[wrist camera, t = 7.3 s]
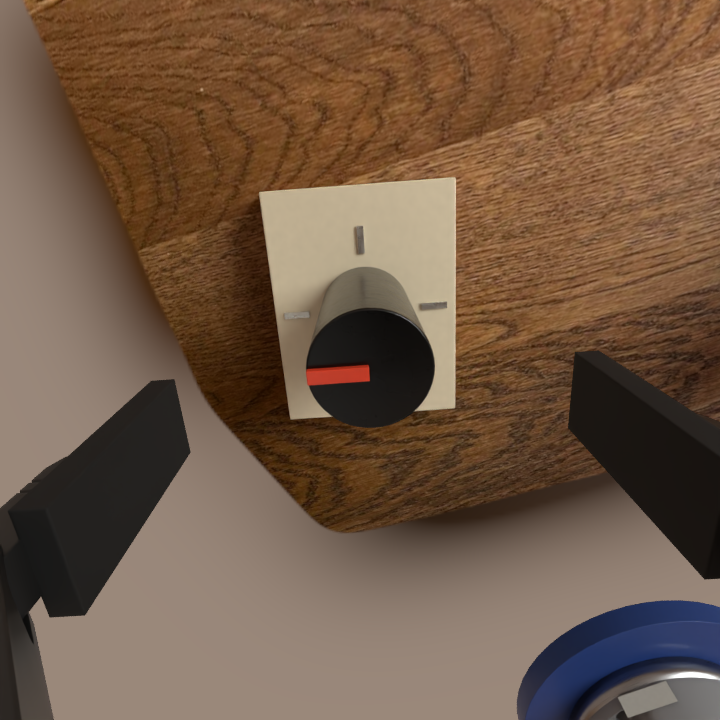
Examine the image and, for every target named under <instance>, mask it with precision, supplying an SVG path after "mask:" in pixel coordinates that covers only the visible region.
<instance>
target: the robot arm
mask: <svg viewBox="0 0 720 720" xmlns="http://www.w3.org/2000/svg"><path fill="white" fill-rule="evenodd" d="M568 428H569V429H570V431H571V432H572V433H573V434H574V435H575V436H576V437H577V438H578V439H579V441H580V442H581V443H582V444H583V445H584V446H585V447H586V448H587V449H588V451H589V452H590V453H591V454H592V455H593V456H594V457H595V458H596V459H597V461H598V462H599V463H600V464H601V465H602V466H603V467H604V468H605V469H606V471H607V472H608V473H609V474H610V475H611V476H612V477H613V478H614V479H615V480H616V482H617V483H618V484H619V485H620V486H621V487H622V488H623V489H624V490H625V492H626V493H627V494H628V495H629V496H630V497H631V498H632V499H633V500H634V502H635V503H636V504H637V505H638V506H639V507H640V508H641V509H642V510H643V512H644V513H645V514H646V515H647V516H648V517H649V518H650V519H651V520H652V521H653V523H655V525H656V526H657V527H658V528H659V529H660V530H661V531H662V533H663V534H664V535H665V536H666V537H667V538H668V539H669V540H670V542H672V544H673V545H674V546H675V547H676V548H677V549H678V550H679V551H680V553H681V554H682V555H683V556H684V557H685V558H686V559H687V560H688V561H689V563H691V565H692V566H693V567H694V568H695V569H696V570H697V571H698V573H699V574H700V575H701V576H702V577H703V578H704V579H719V578H720V422H719V421H716V420H714V419H711V418H709V417H706V416H703V415H701V414H696V413H694V412H693V411H691V410H690V409H688V408H687V407H685V406H684V405H682V404H680V403H679V402H677V401H676V400H674V399H673V398H671V397H670V396H668V395H667V394H665V393H663V392H662V391H660V390H659V389H657V388H656V387H654V386H653V385H651V384H650V383H648V382H646V381H645V380H643V379H642V378H640V377H639V376H637V375H636V374H634V373H633V372H631V371H630V370H628V369H626V368H625V367H623V366H622V365H620V364H619V363H617V362H616V361H614V360H613V359H611V358H609V357H608V356H606V355H605V354H603V353H602V352H600V351H586V352H575V358H574V369H573V380H572V391H571V401H570V412H569V423H568ZM189 454H190V448H189V443H188V439H187V434H186V430H185V425H184V421H183V416H182V412H181V407H180V404H179V398H178V394H177V390H176V385H175V381H174V379H172V380H159V381H158V380H157V381H151V382H150V383H148V384H147V385H146V386H145V387H144V388H143V389H142V390H141V391H140V392H138V393H137V394H136V395H135V396H134V397H133V398H132V399H131V400H130V401H129V402H128V403H126V404H125V405H124V406H123V407H122V408H121V409H120V410H119V411H118V412H116V413H115V414H114V415H113V416H112V417H111V418H110V419H109V420H108V421H106V422H105V423H104V424H103V425H102V426H101V427H100V428H99V429H98V430H96V431H95V432H94V433H93V434H92V435H91V436H90V437H89V438H88V439H87V440H85V441H84V442H83V443H82V444H81V445H80V446H79V447H78V448H77V449H76V450H75V451H73V452H72V453H71V454H70V455H69V456H68V457H65V458H63V459H61V460H59V461H58V462H56V463H54V464H52V465H51V466H49V467H47V468H46V469H44V470H43V471H42V472H41V473H40V474H39V475H38V476H36V477H35V478H34V479H33V480H32V483H28V484H27V485H26V486H25V487H24V488H23V489H22V490H20V493H17V494H16V495H15V496H14V497H13V498H11V499H10V500H9V501H8V502H7V503H6V504H5V505H3V506H2V507H1V508H0V720H54V719H53V714H52V709H51V704H50V700H49V695H48V690H47V685H46V680H45V675H44V671H43V666H42V661H41V656H40V651H39V647H38V642H37V637H36V632H35V627H34V624H33V621H32V619H31V616H30V614H29V611H30V610H31V608H32V607H33V606H34V604H35V603H36V602H37V601H38V599H39V598H40V597H42V599H43V602H44V604H45V607H46V609H47V612H48V614H49V617H64V616H81V615H85V614H86V613H87V611H88V610H89V608H90V607H91V605H92V604H93V602H94V600H95V599H96V597H97V596H98V594H99V593H100V591H101V590H102V588H103V587H104V585H105V583H106V582H107V580H108V579H109V577H110V576H111V574H112V573H113V571H114V570H115V568H116V566H117V565H118V563H119V562H120V560H121V559H122V557H123V556H124V554H125V553H126V551H127V549H128V548H129V546H130V545H131V543H132V542H133V540H134V539H135V537H136V536H137V534H138V532H139V531H140V529H141V528H142V526H143V525H144V523H145V522H146V520H147V519H148V517H149V516H150V514H151V512H152V511H153V509H154V508H155V506H156V505H157V503H158V502H159V500H160V499H161V497H162V495H163V494H164V492H165V491H166V489H167V488H168V486H169V485H170V483H171V482H172V480H173V478H174V477H175V475H176V474H177V472H178V471H179V469H180V468H181V466H182V465H183V463H184V462H185V460H186V458H187V457H188V455H189ZM569 720H720V665H718V664H716V663H713V662H711V661H707V660H703V659H699V658H692V657H663V658H656V659H650V660H646V661H641V662H638V663H635V664H632V665H629V666H626V667H624V668H621V669H619V670H617V671H615V672H613V673H611V674H609V675H607V676H606V677H604V678H602V679H601V680H599V681H598V682H597V683H595V684H594V685H593V686H592V687H591V688H589V689H588V690H587V691H586V692H585V693H584V694H583V695H582V697H581V698H580V699H579V700H578V702H577V703H576V705H575V706H574V708H573V710H572V712H571V715H570V718H569Z"/></svg>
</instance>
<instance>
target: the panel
mask: <svg viewBox="0 0 720 720" xmlns="http://www.w3.org/2000/svg"><path fill="white" fill-rule="evenodd" d="M259 198H260V206H261V213H262V220H263V227H264V234H265V241H266V249H267V256H268V263H269V270H270V277H271V285H272V292H273V299H274V306H275V313H276V320H277V328H278V335H279V342H280V349H281V356H282V364H283V371H284V378H285V385H286V392H287V399H288V407H289V414H290V419H305V418H320V417H333V416H331V415H330V414H328V413H327V412H326V411H325V410H324V409H323V408H322V407H321V406H320V405H319V404H318V402H317V401H316V400H315V398H314V397H313V395H312V393H311V391H310V388H309V386H308V385H307V378H306V360H307V355H308V351H309V347H310V344H311V340H312V337H313V333H314V330H315V326H316V323H317V319H318V316H319V312H320V309H321V305H322V301H323V298H324V295H325V292H326V290H327V289H328V287H329V285H330V284H331V283H332V282H333V281H334V280H335V279H336V278H337V277H338V276H339V275H340V274H342V273H344V272H345V271H348V270H350V269H353V268H357V267H374V268H378V269H381V270H384V271H386V272H388V273H389V274H391V275H392V276H393V277H395V278H396V279H397V280H398V281H399V282H400V284H401V285H402V287H403V288H404V290H405V292H406V294H407V296H408V298H409V300H410V303H411V305H412V307H413V309H414V311H415V313H416V315H417V317H418V319H419V322H420V324H421V326H422V328H423V330H424V332H425V334H426V336H427V338H428V340H429V343H430V345H431V348H432V350H433V354H434V360H435V374H434V379H433V383H432V386H431V389H430V391H429V393H428V395H427V397H426V398H425V400H424V401H423V402H422V404H421V405H420V406H419V407H418V408H417V409H416V410H415V411H424V410H438V409H453V408H455V296H456V178H455V177H451V178H438V179H424V180H411V181H398V182H385V183H371V184H358V185H345V186H331V187H318V188H305V189H291V190H278V191H265V192H259Z"/></svg>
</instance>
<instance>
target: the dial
mask: <svg viewBox="0 0 720 720" xmlns="http://www.w3.org/2000/svg"><path fill="white" fill-rule="evenodd" d="M434 374H435V360H434V354H433V350H432V348H431V345H430V343H429V340H428V338H427V336H426V334H425V332H424V330H423V328H422V326H421V324H420V322H419V319H418V317H417V315H416V313H415V311H414V309H413V307H412V305H411V303H410V300H409V298H408V296H407V294H406V292H405V290H404V288H403V287H402V285H401V284H400V282H399V281H398V280H397V279H396V278H395V277H393V276H392V275H391V274H389V273H388V272H386V271H384V270H381V269H378V268H374V267H357V268H353V269H350V270H348V271H345V272H344V273H342V274H340V275H339V276H338V277H337V278H336V279H335V280H334V281H333V282H332V283H331V284H330V285H329V287H328V289H327V290H326V292H325V295H324V298H323V301H322V305H321V309H320V312H319V316H318V319H317V323H316V326H315V330H314V333H313V337H312V340H311V344H310V347H309V351H308V355H307V360H306V378H307V385H308V386H309V388H310V391H311V393H312V395H313V397H314V398H315V400H316V401H317V402H318V404H319V405H320V406H321V407H322V408H323V409H324V410H325V411H326V412H327V413H328V414H330V415H331V416H333V417H334V418H336V419H337V420H339V421H341V422H343V423H346V424H349V425H353V426H357V427H365V428H375V427H383V426H387V425H391V424H393V423H396V422H398V421H400V420H402V419H404V418H406V417H407V416H409V415H410V414H411V413H413V412H414V411H415V410H416V409H417V408H418V407H419V406H420V405H421V404H422V402H423V401H424V400H425V398H426V397H427V395H428V393H429V391H430V389H431V386H432V383H433V379H434Z"/></svg>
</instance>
